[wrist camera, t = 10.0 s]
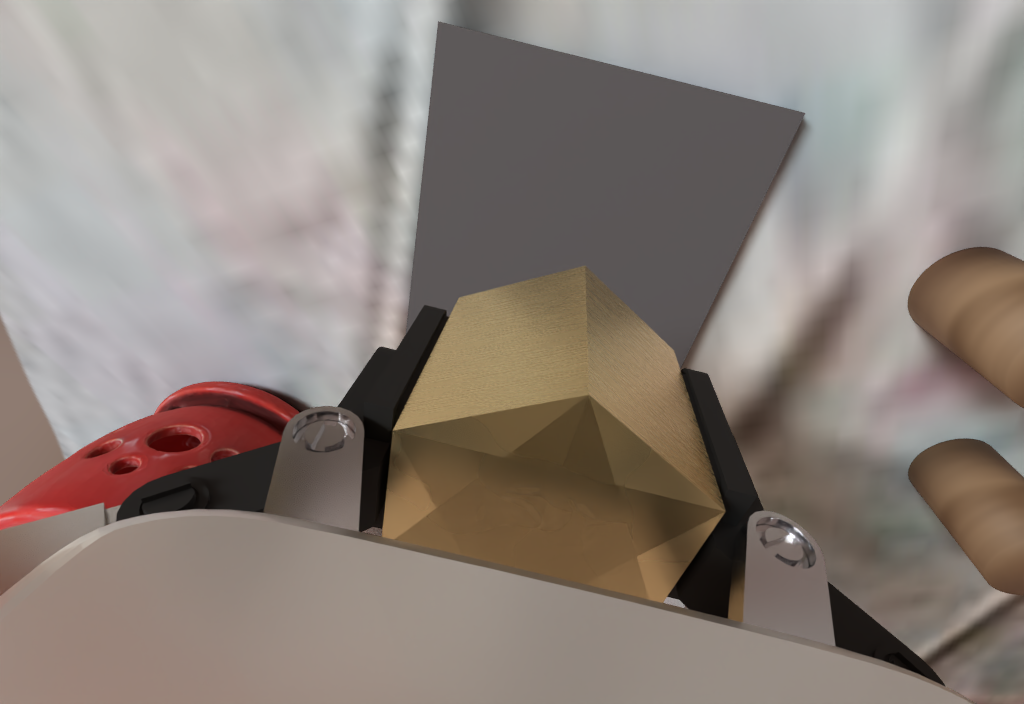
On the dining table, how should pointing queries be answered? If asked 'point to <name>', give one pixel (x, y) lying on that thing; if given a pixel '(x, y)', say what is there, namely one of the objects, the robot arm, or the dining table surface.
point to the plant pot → (155, 449)
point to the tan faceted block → (554, 441)
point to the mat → (586, 179)
